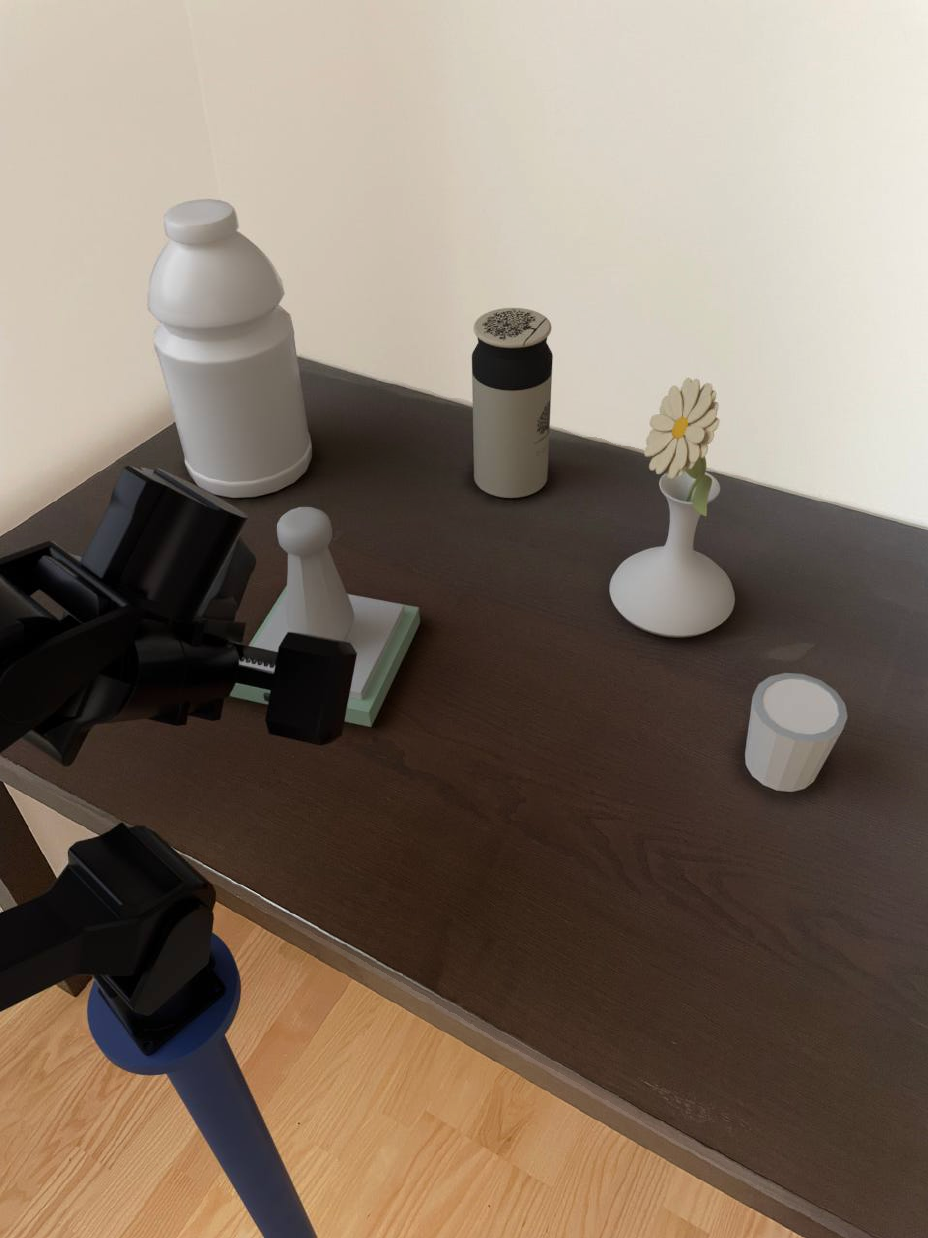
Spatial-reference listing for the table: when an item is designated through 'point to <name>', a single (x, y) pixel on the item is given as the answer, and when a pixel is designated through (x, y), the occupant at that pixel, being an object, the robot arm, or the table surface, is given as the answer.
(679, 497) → the flower in vase
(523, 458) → the travel mug
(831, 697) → the shot glass
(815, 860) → the table surface
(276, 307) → the bottle
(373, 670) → the scale
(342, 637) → the salt shaker
